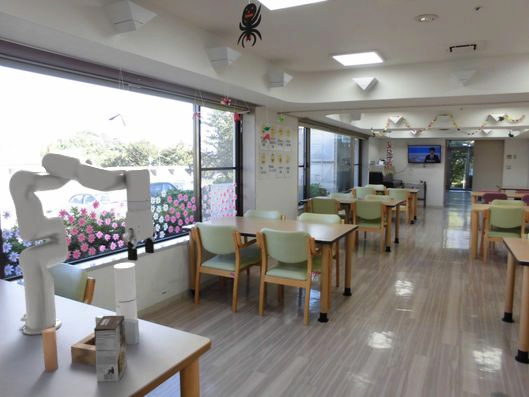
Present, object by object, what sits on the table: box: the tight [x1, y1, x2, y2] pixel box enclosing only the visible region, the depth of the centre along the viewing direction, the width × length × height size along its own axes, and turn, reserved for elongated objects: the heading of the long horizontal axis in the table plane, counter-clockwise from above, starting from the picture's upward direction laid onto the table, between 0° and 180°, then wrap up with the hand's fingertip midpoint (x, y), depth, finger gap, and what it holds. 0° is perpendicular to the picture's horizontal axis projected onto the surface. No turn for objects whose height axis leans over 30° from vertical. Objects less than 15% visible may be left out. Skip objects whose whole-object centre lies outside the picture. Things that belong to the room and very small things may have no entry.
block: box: [70, 332, 96, 367], centre depth 128 cm, size 10×10×5 cm
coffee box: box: [93, 315, 128, 383], centre depth 117 cm, size 9×6×16 cm
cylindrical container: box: [113, 262, 138, 320], centre depth 144 cm, size 7×7×25 cm
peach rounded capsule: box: [41, 328, 59, 372], centre depth 120 cm, size 4×4×12 cm
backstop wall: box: [94, 314, 140, 346], centre depth 138 cm, size 16×2×8 cm, turn 73°
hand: (141, 256), depth 132 cm, fingers open, 9 cm apart
